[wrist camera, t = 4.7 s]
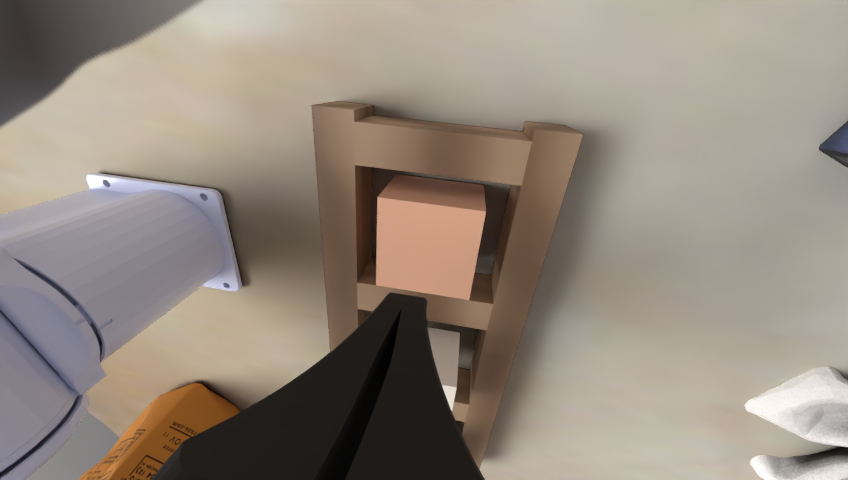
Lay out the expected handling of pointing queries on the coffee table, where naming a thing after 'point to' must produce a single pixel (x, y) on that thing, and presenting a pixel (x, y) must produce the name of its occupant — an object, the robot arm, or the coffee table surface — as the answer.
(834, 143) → the small box
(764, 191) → the coffee table surface
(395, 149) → the block rack
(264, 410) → the robot arm
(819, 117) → the coffee table surface
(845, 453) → the cloth
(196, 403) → the coffee package
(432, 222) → the terracotta block
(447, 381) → the cream block
